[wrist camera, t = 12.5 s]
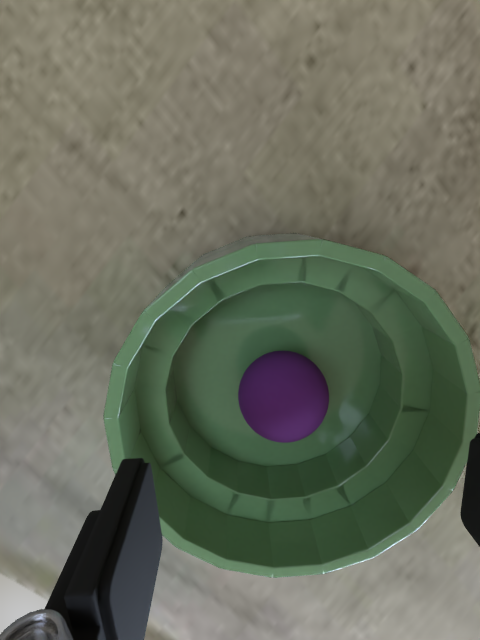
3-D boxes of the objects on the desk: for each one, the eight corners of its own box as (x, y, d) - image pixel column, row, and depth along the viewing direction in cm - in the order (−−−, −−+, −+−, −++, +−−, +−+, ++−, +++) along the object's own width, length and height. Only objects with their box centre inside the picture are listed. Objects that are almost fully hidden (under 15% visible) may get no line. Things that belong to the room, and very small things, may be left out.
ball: (240, 415, 21) (242, 466, 17) (234, 341, 20) (235, 376, 16) (318, 409, 21) (339, 459, 17) (317, 335, 20) (340, 369, 16)
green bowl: (157, 495, 23) (133, 589, 17) (121, 244, 19) (73, 255, 13) (404, 477, 23) (462, 564, 17) (419, 224, 19) (502, 226, 13)
